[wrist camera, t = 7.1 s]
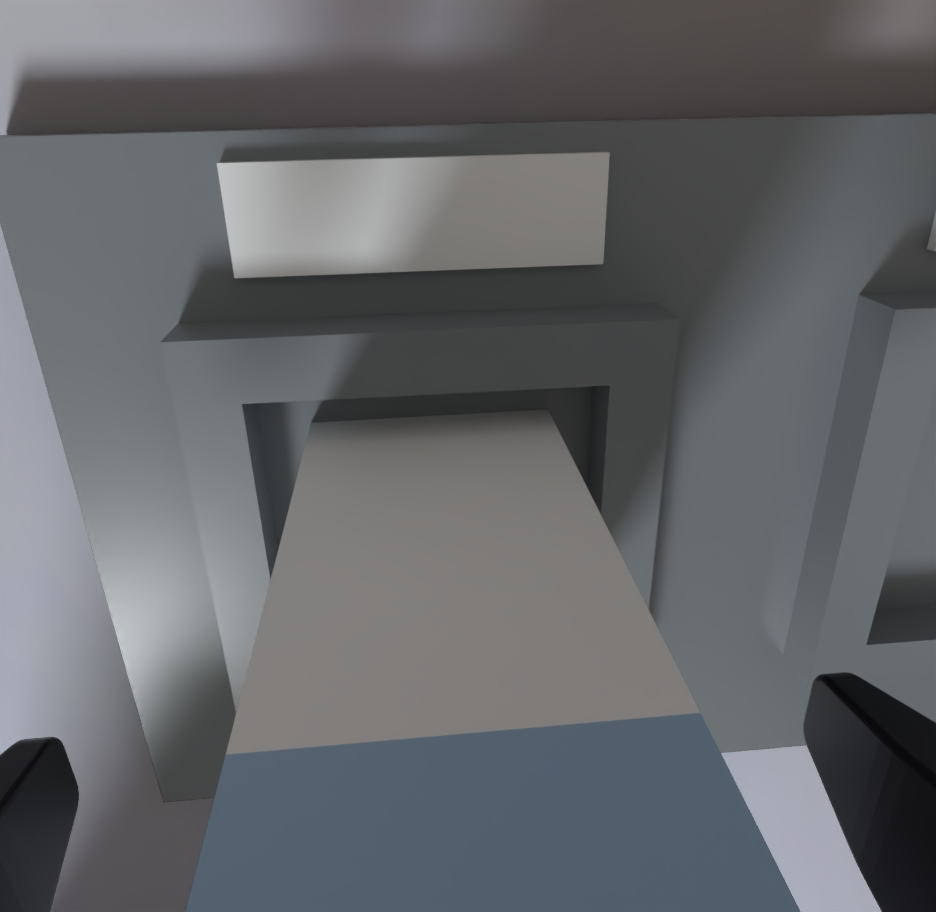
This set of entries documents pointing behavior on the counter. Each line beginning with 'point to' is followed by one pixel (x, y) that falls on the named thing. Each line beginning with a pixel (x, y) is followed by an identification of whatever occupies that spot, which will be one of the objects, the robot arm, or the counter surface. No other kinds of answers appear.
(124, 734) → the counter surface
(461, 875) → the plug
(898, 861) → the robot arm
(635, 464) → the panel
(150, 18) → the counter surface
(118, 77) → the counter surface
